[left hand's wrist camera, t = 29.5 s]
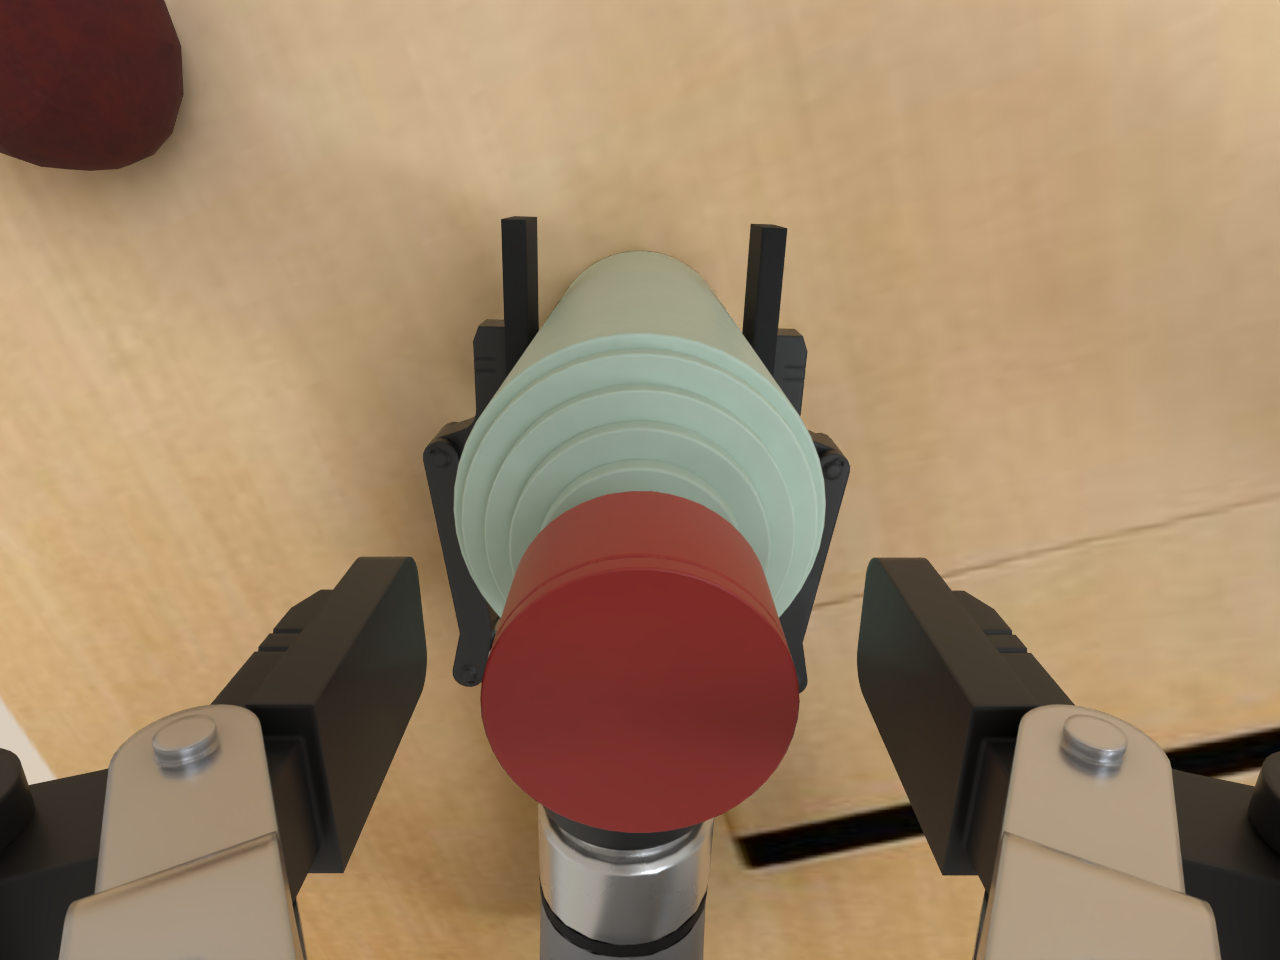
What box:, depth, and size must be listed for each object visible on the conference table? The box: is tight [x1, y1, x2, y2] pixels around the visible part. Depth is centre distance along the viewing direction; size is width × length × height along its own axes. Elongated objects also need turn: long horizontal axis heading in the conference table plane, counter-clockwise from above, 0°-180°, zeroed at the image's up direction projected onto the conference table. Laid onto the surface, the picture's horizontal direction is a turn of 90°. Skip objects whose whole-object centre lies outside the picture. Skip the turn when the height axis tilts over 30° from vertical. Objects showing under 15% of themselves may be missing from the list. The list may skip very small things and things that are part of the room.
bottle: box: [454, 251, 826, 618], centre depth 21 cm, size 7×7×24 cm
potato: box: [0, 0, 183, 171], centre depth 26 cm, size 7×8×7 cm
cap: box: [480, 491, 799, 833], centre depth 11 cm, size 4×4×2 cm
